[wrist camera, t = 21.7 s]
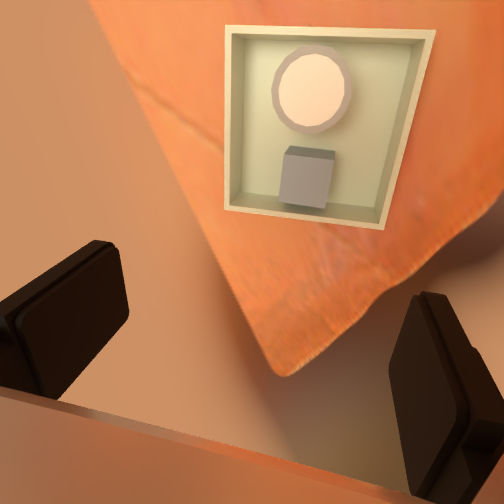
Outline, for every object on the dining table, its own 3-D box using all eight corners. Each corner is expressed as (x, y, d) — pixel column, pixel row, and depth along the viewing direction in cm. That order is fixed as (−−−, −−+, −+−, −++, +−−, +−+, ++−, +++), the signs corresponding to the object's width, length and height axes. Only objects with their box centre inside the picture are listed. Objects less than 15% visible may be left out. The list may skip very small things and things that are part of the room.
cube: (334, 150, 36) (334, 160, 31) (326, 194, 38) (325, 208, 34) (289, 145, 37) (283, 154, 32) (284, 188, 39) (278, 201, 35)
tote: (420, 37, 30) (436, 29, 25) (377, 211, 38) (383, 230, 34) (241, 32, 33) (225, 24, 28) (237, 194, 41) (224, 209, 37)
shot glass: (308, 138, 36) (303, 150, 30) (269, 86, 34) (254, 88, 28) (363, 92, 33) (370, 95, 27) (322, 33, 31) (319, 22, 25)
